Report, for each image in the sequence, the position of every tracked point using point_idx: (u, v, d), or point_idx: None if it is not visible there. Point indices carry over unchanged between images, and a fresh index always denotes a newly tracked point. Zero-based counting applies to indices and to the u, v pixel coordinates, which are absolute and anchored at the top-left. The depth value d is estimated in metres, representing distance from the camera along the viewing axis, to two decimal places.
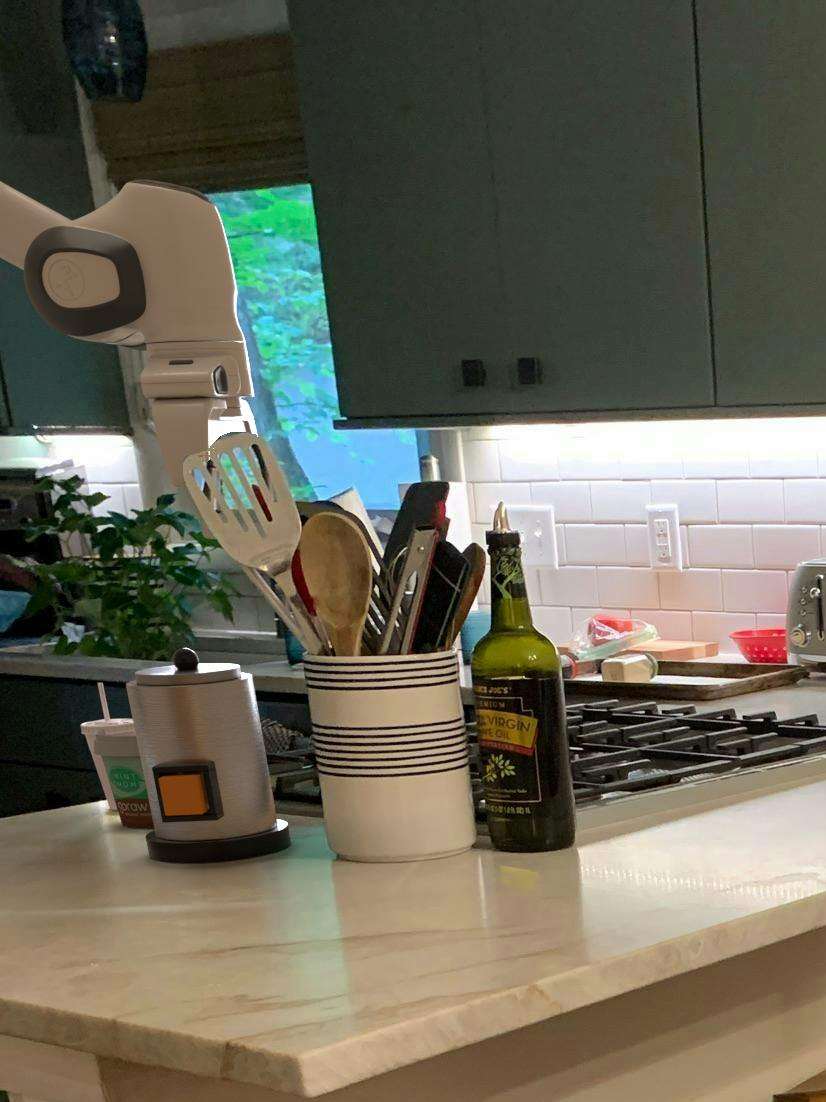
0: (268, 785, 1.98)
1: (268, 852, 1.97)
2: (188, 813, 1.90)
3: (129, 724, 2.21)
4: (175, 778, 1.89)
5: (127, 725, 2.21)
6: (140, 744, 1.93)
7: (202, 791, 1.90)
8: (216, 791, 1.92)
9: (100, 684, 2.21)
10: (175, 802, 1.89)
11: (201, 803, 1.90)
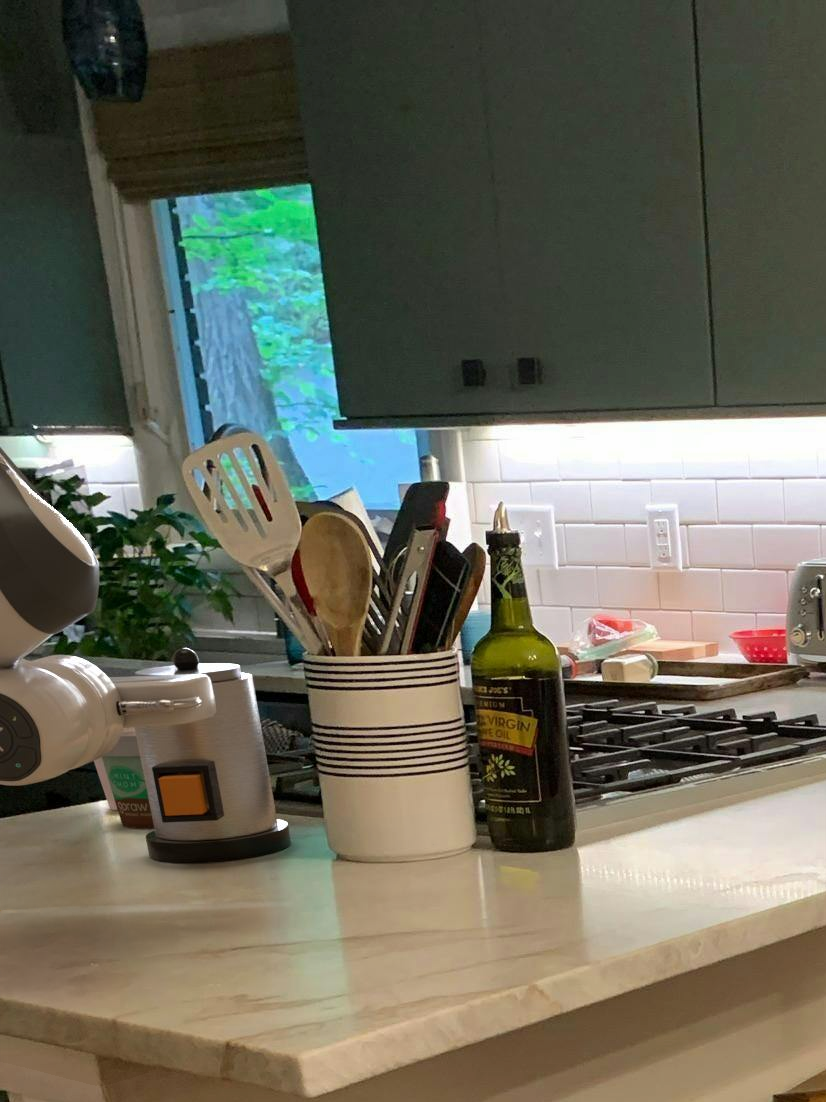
0: (268, 785, 1.98)
1: (268, 852, 1.97)
2: (188, 813, 1.90)
3: None
4: (175, 778, 1.89)
5: None
6: (140, 744, 1.93)
7: (202, 791, 1.90)
8: (216, 791, 1.92)
9: None
10: (175, 802, 1.89)
11: (201, 803, 1.90)
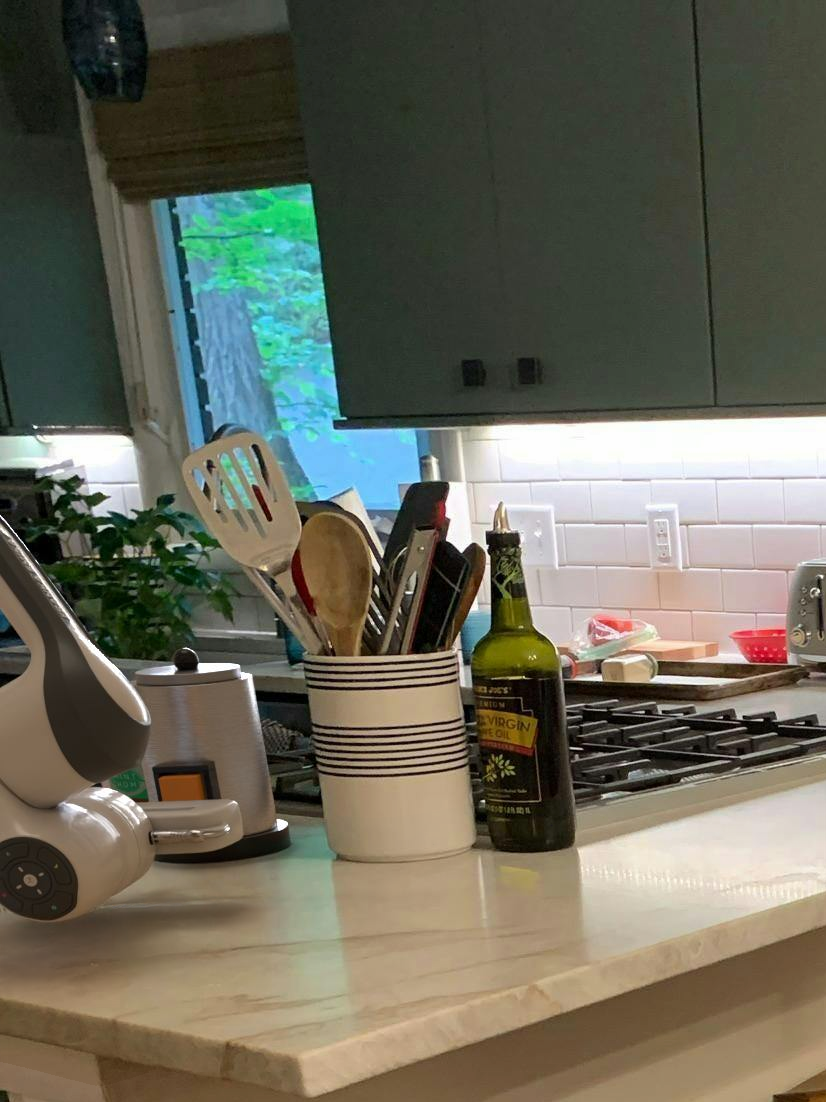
0: (268, 785, 1.98)
1: (268, 852, 1.97)
2: None
3: None
4: (175, 778, 1.89)
5: None
6: None
7: (202, 791, 1.90)
8: (216, 791, 1.92)
9: None
10: None
11: None
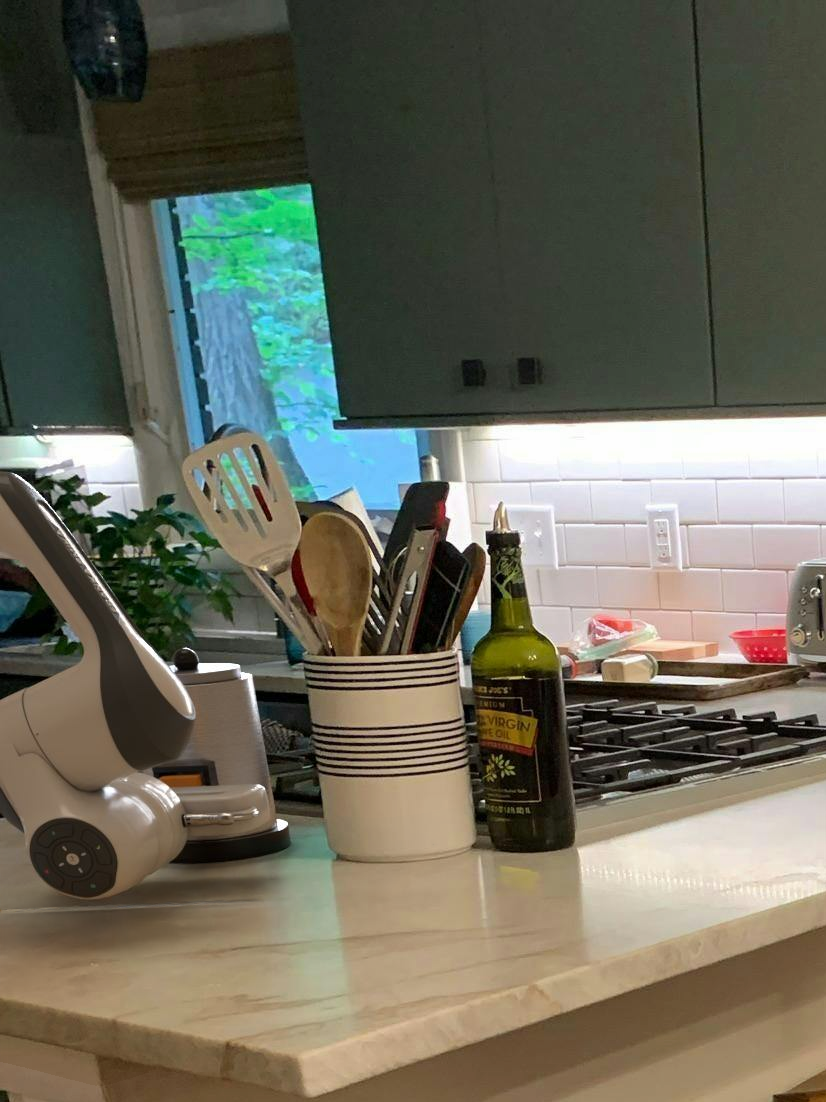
0: (268, 785, 1.98)
1: (268, 852, 1.97)
2: None
3: None
4: (175, 778, 1.89)
5: None
6: None
7: None
8: None
9: None
10: None
11: None
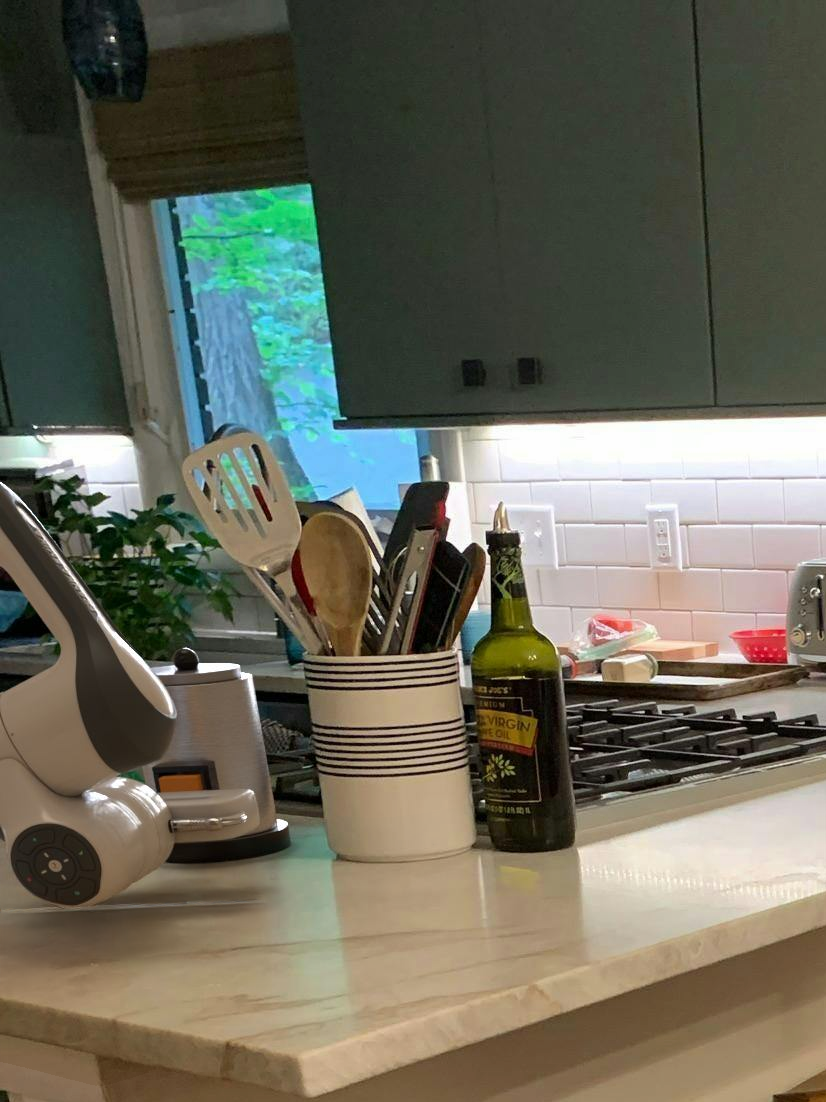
0: (268, 785, 1.98)
1: (268, 852, 1.97)
2: None
3: None
4: (175, 778, 1.89)
5: None
6: None
7: None
8: None
9: None
10: None
11: None
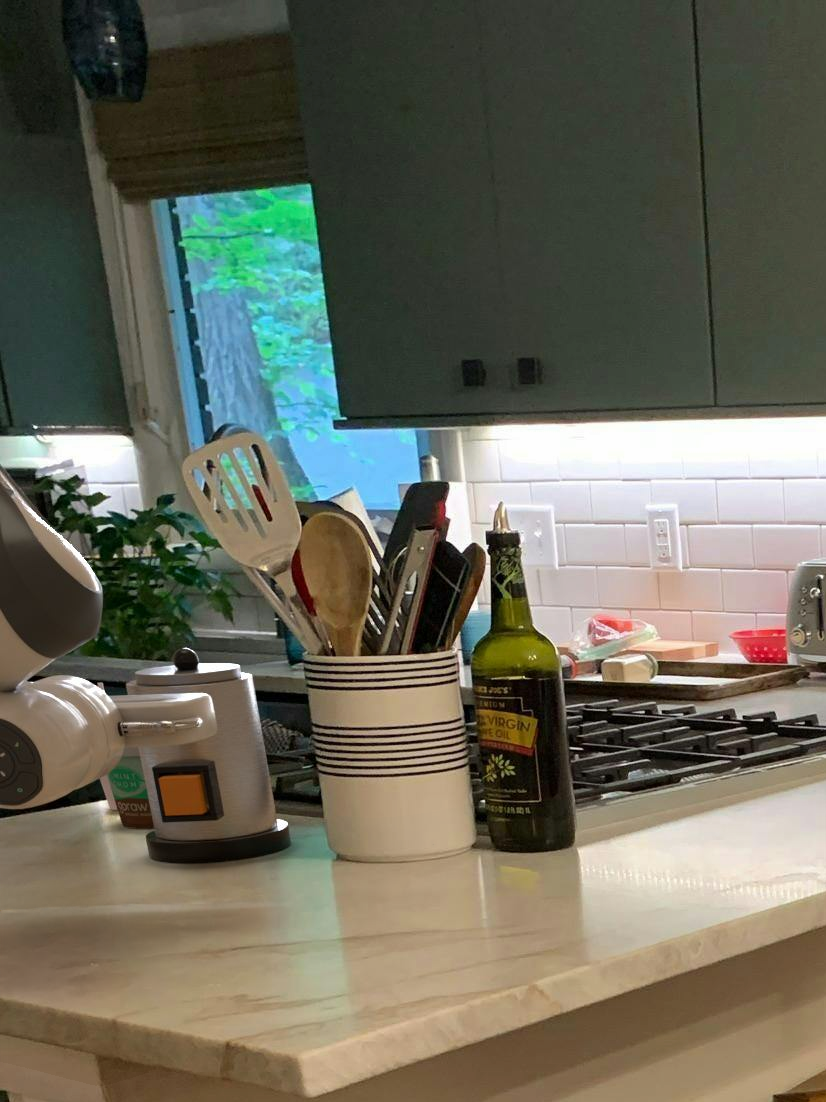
0: (268, 785, 1.98)
1: (268, 852, 1.97)
2: (188, 813, 1.90)
3: None
4: (175, 778, 1.89)
5: None
6: None
7: (202, 791, 1.90)
8: (216, 791, 1.92)
9: (100, 684, 2.21)
10: (175, 802, 1.89)
11: (201, 803, 1.90)
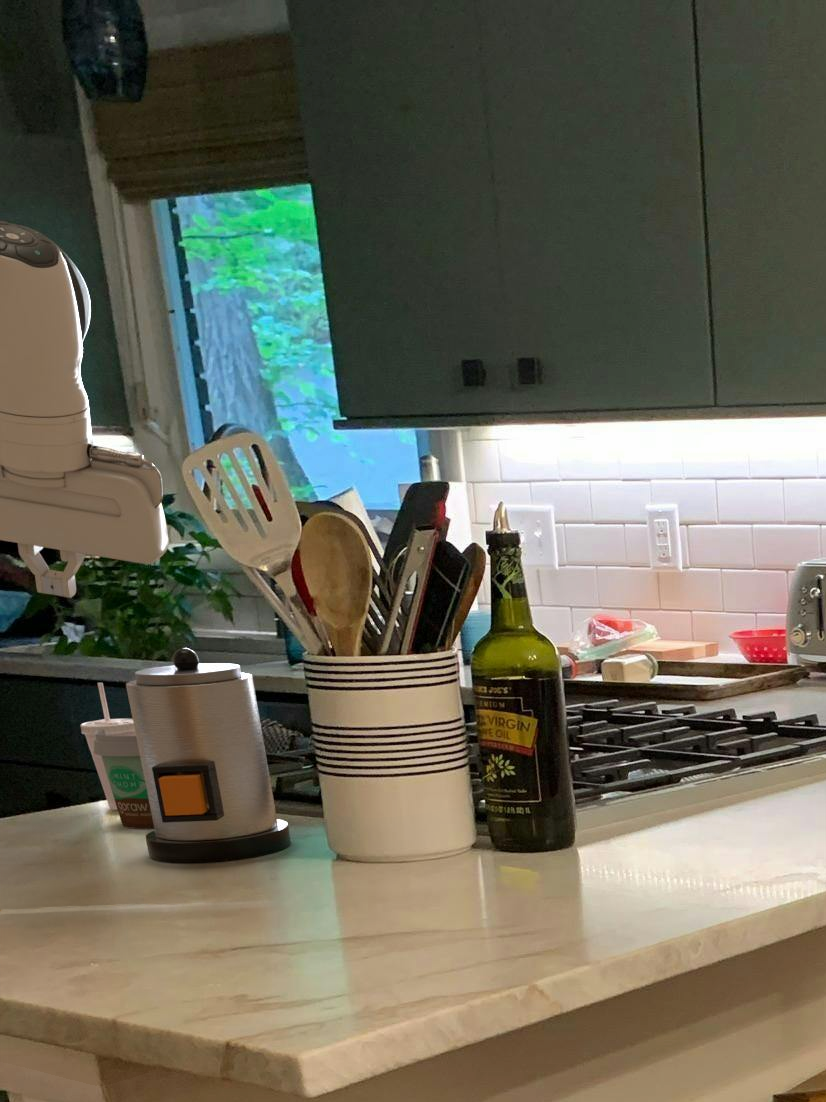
0: (268, 785, 1.98)
1: (268, 852, 1.97)
2: (188, 813, 1.90)
3: (129, 724, 2.21)
4: (175, 778, 1.89)
5: (127, 725, 2.21)
6: (140, 744, 1.93)
7: (202, 791, 1.90)
8: (216, 791, 1.92)
9: (100, 684, 2.21)
10: (175, 802, 1.89)
11: (201, 803, 1.90)
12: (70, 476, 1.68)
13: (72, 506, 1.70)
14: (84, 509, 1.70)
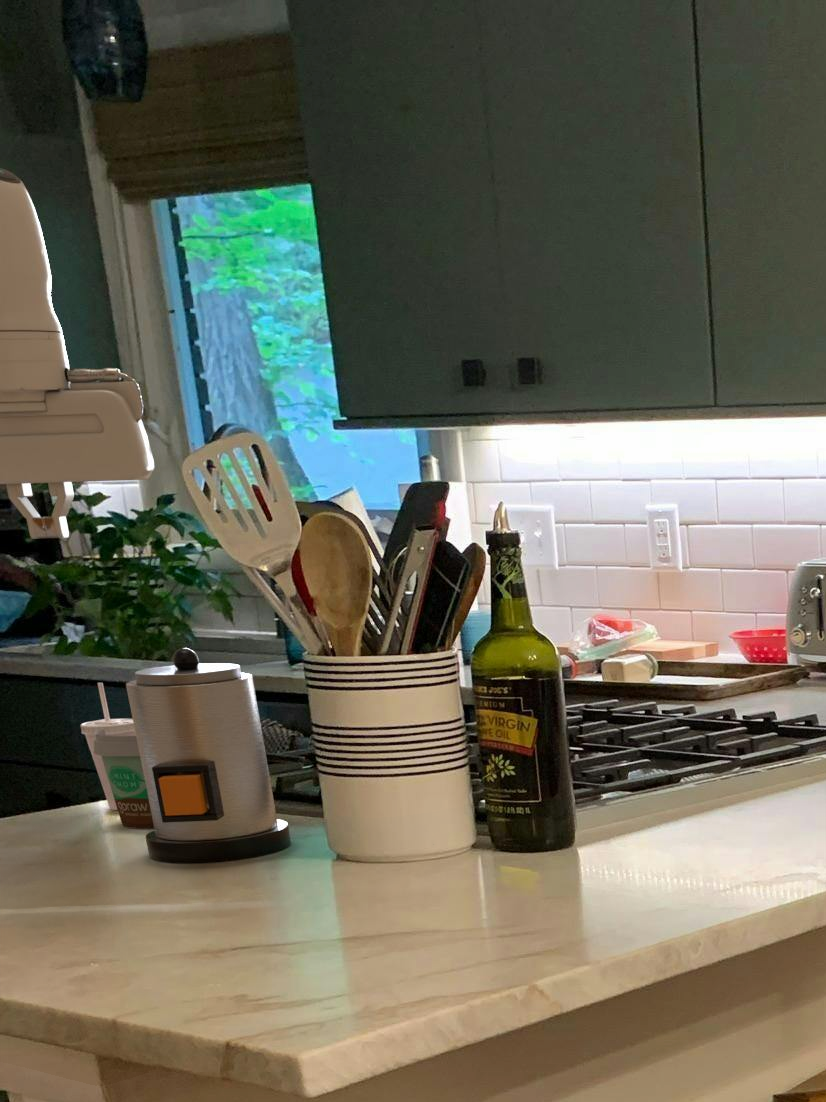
0: (268, 785, 1.98)
1: (268, 852, 1.97)
2: (188, 813, 1.90)
3: (129, 724, 2.21)
4: (175, 778, 1.89)
5: (127, 725, 2.21)
6: (140, 744, 1.93)
7: (202, 791, 1.90)
8: (216, 791, 1.92)
9: (100, 684, 2.21)
10: (175, 802, 1.89)
11: (201, 803, 1.90)
12: (51, 398, 1.70)
13: (55, 431, 1.71)
14: (67, 432, 1.71)
